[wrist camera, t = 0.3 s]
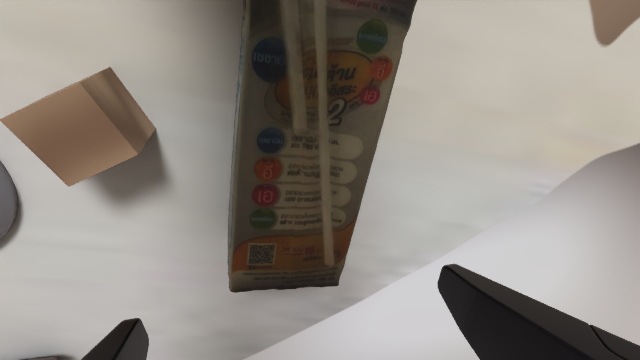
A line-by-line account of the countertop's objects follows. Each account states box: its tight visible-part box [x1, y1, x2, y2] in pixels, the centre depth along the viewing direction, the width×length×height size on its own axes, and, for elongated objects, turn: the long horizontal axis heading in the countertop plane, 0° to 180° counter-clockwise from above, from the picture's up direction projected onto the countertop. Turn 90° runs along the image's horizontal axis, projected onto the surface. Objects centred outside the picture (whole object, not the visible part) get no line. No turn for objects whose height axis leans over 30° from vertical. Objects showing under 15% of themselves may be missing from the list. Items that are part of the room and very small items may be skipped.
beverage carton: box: [228, 0, 417, 292], centre depth 19 cm, size 8×19×7 cm, turn 169°
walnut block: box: [0, 67, 156, 187], centre depth 17 cm, size 4×4×4 cm
